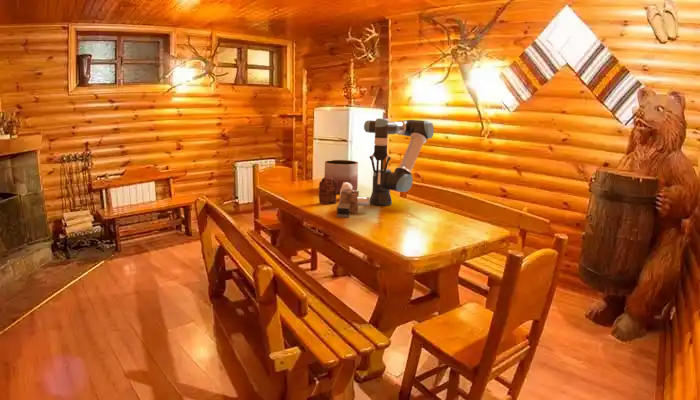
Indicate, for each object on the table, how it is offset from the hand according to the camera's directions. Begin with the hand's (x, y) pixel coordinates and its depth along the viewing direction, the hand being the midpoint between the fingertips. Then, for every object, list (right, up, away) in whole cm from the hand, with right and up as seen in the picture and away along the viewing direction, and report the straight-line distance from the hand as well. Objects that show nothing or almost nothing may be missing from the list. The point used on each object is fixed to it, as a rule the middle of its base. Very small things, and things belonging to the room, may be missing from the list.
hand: (378, 183), depth 264 cm
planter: (-25, -3, +68) cm, 72 cm away
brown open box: (-18, -17, +6) cm, 25 cm away
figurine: (-20, -10, +39) cm, 45 cm away
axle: (-15, -13, +4) cm, 20 cm away
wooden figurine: (-32, -12, +26) cm, 43 cm away
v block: (-22, -19, -5) cm, 29 cm away
